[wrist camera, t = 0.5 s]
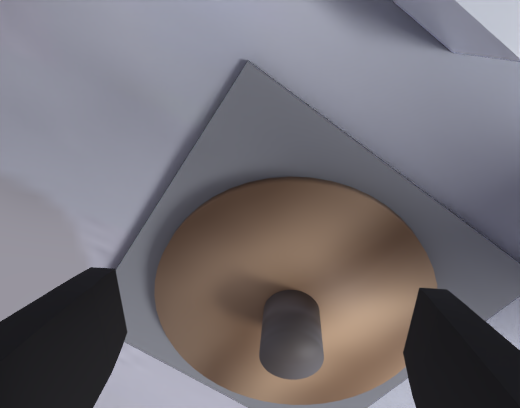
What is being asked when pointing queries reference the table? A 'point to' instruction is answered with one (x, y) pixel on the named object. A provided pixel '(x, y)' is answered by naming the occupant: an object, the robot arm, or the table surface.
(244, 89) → the grey square pad
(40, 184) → the table surface
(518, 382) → the robot arm
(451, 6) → the grey bowl
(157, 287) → the walnut lid
